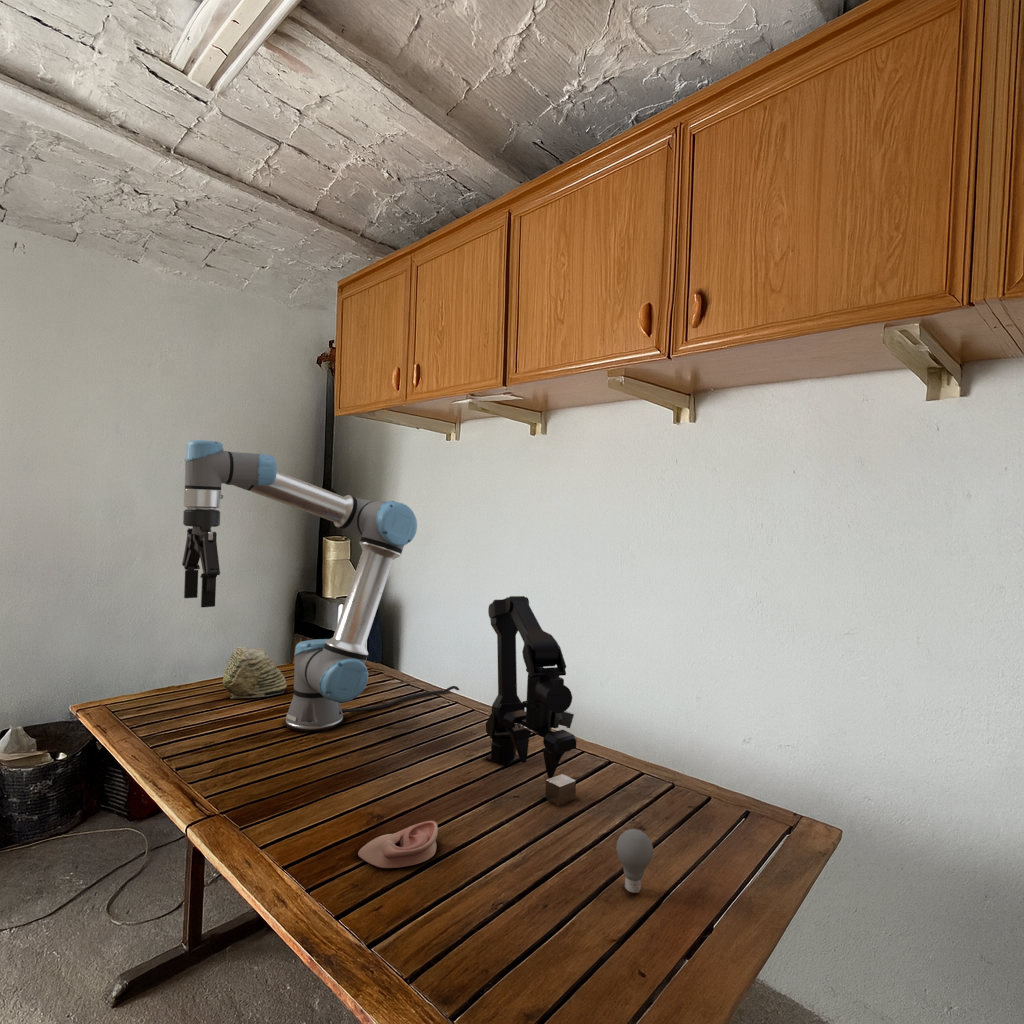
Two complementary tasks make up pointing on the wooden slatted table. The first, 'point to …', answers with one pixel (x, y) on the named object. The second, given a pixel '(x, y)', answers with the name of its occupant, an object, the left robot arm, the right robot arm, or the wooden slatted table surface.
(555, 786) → the block
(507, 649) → the right robot arm
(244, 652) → the fossil
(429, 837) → the anatomical model
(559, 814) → the wooden slatted table surface
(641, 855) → the light bulb
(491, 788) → the wooden slatted table surface
